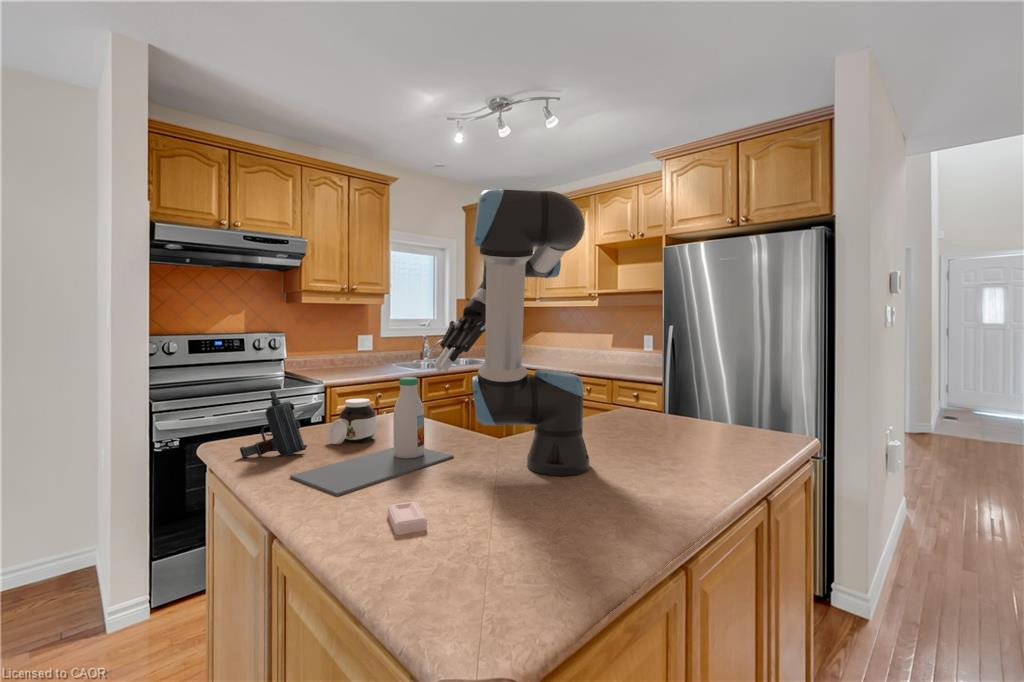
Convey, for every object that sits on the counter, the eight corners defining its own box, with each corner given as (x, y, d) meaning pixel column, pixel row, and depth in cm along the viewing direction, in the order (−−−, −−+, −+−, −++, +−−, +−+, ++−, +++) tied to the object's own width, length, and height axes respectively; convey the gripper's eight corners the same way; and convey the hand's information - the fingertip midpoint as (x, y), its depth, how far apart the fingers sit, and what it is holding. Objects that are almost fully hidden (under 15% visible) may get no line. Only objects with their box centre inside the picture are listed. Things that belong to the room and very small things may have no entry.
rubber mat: (406, 445, 139) (406, 443, 139) (453, 457, 128) (453, 455, 128) (290, 477, 112) (290, 475, 112) (337, 496, 101) (337, 493, 101)
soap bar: (416, 512, 94) (416, 500, 94) (427, 532, 86) (427, 518, 86) (387, 516, 92) (387, 504, 92) (396, 537, 84) (395, 523, 84)
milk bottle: (409, 461, 123) (409, 380, 122) (387, 456, 127) (386, 378, 126) (430, 453, 129) (430, 377, 128) (408, 449, 134) (408, 375, 132)
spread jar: (379, 437, 148) (379, 398, 148) (362, 447, 137) (361, 405, 137) (342, 435, 151) (342, 397, 150) (322, 445, 139) (321, 404, 139)
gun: (227, 403, 127) (288, 386, 130) (248, 465, 129) (307, 446, 132) (224, 405, 124) (287, 388, 128) (245, 468, 126) (306, 449, 130)
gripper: (505, 317, 146) (466, 379, 134) (467, 316, 155) (428, 375, 142) (493, 298, 141) (453, 361, 129) (455, 298, 150) (414, 357, 138)
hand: (440, 368), depth 136 cm, fingers closed
